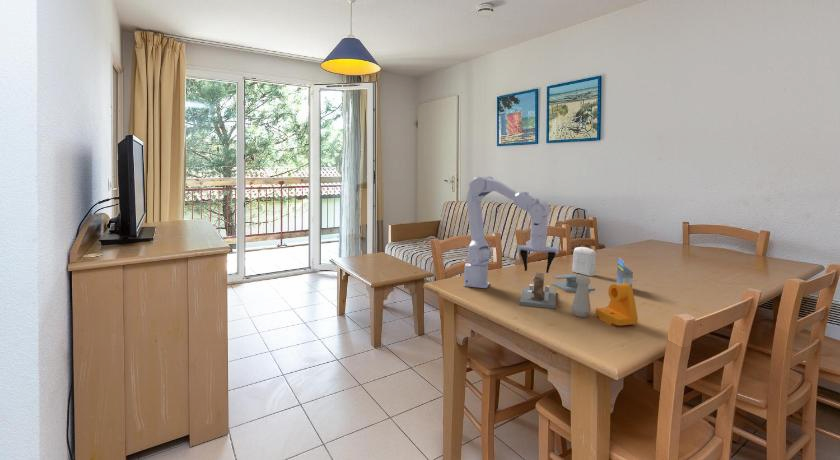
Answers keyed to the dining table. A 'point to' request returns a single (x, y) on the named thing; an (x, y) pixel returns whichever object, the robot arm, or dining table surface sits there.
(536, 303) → the hinge board
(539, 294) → the cabinet door
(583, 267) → the photo printer
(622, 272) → the label tape box
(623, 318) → the bracket
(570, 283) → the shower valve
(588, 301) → the salt shaker
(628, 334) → the dining table surface
